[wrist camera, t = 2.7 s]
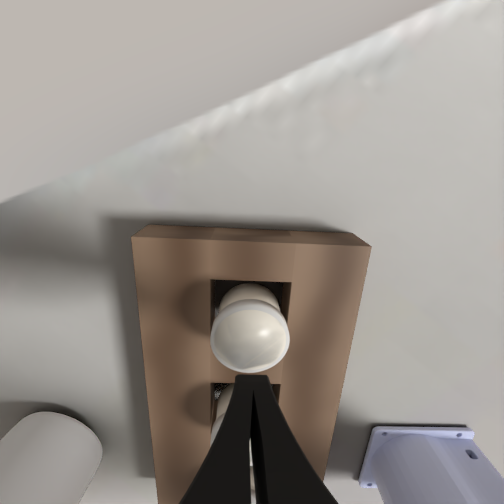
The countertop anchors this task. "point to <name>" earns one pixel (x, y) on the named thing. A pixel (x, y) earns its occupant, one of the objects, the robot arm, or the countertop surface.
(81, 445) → the pill bottle
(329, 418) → the knob board
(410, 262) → the countertop surface
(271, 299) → the outer knob
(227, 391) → the middle knob
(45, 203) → the countertop surface
